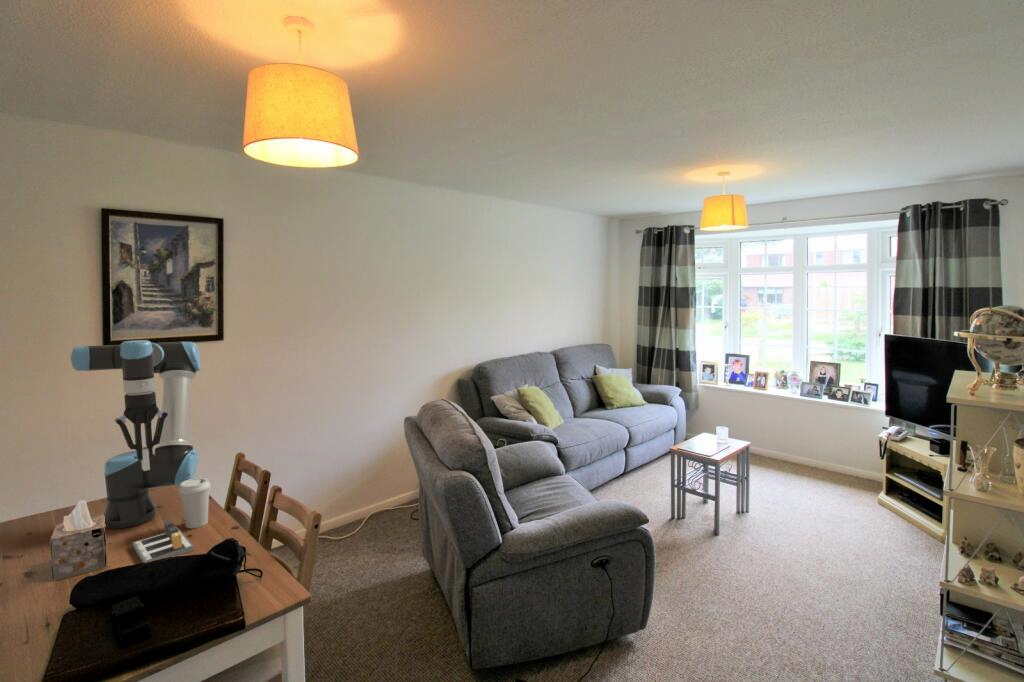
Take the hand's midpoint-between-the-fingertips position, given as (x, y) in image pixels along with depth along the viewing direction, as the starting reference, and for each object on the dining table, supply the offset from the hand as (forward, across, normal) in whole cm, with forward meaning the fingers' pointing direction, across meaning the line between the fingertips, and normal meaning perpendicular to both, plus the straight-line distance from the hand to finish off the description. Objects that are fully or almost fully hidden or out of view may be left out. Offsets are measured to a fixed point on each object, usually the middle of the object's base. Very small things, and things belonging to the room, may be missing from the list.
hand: (146, 469), depth 154 cm
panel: (+26, +3, 0) cm, 27 cm away
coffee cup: (+27, +15, +11) cm, 32 cm away
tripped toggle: (+25, +5, -6) cm, 26 cm away
